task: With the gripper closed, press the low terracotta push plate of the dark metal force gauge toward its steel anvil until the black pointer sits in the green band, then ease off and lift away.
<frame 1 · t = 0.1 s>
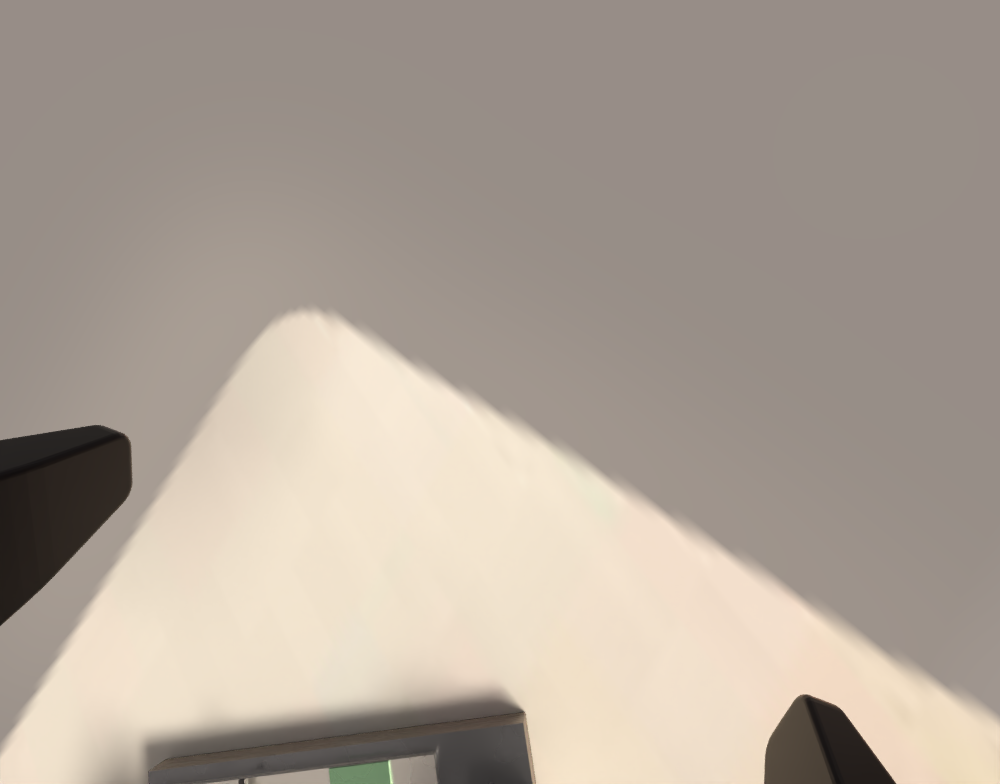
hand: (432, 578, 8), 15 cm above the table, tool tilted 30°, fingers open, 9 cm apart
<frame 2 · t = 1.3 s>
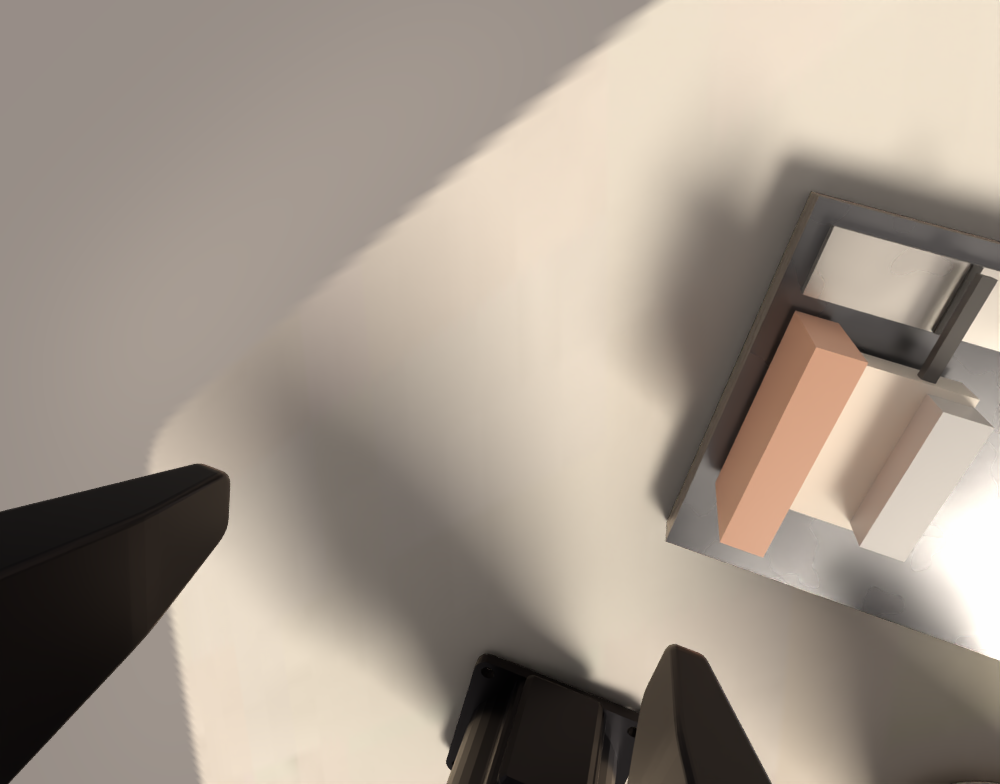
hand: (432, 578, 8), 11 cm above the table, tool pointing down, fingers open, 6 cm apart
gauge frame: (981, 457, 16), on the table
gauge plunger: (865, 418, 14), point 3 cm above the table, slide at 0.0 cm
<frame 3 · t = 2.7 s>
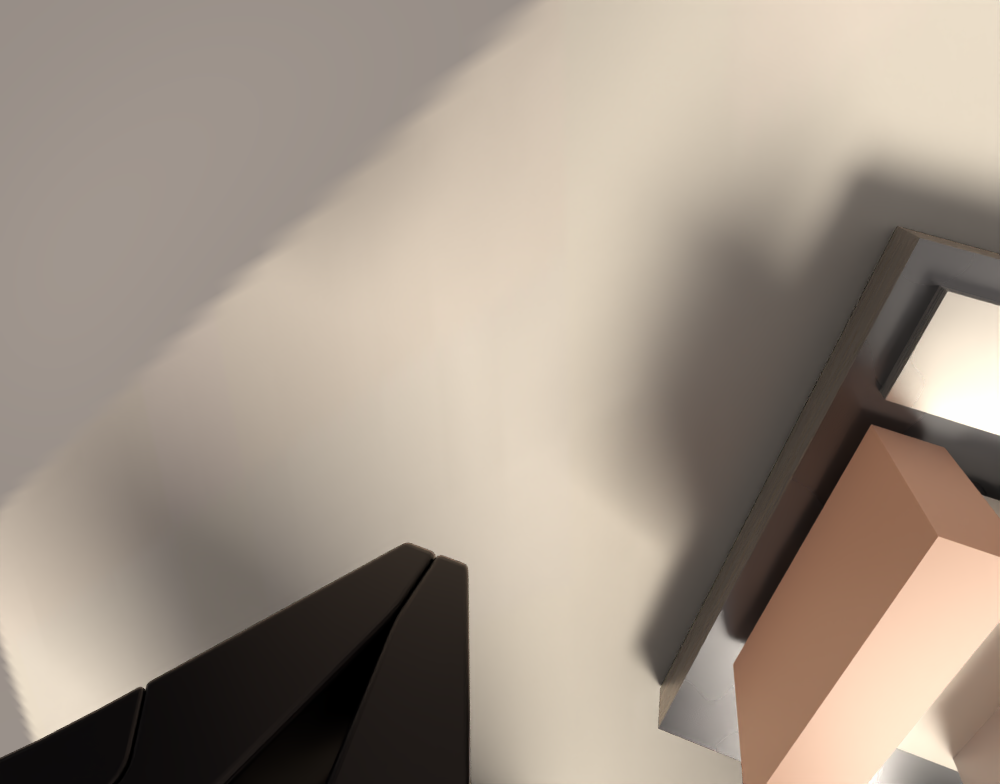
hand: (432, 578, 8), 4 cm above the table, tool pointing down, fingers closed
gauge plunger: (998, 621, 8), point 3 cm above the table, slide at 0.0 cm
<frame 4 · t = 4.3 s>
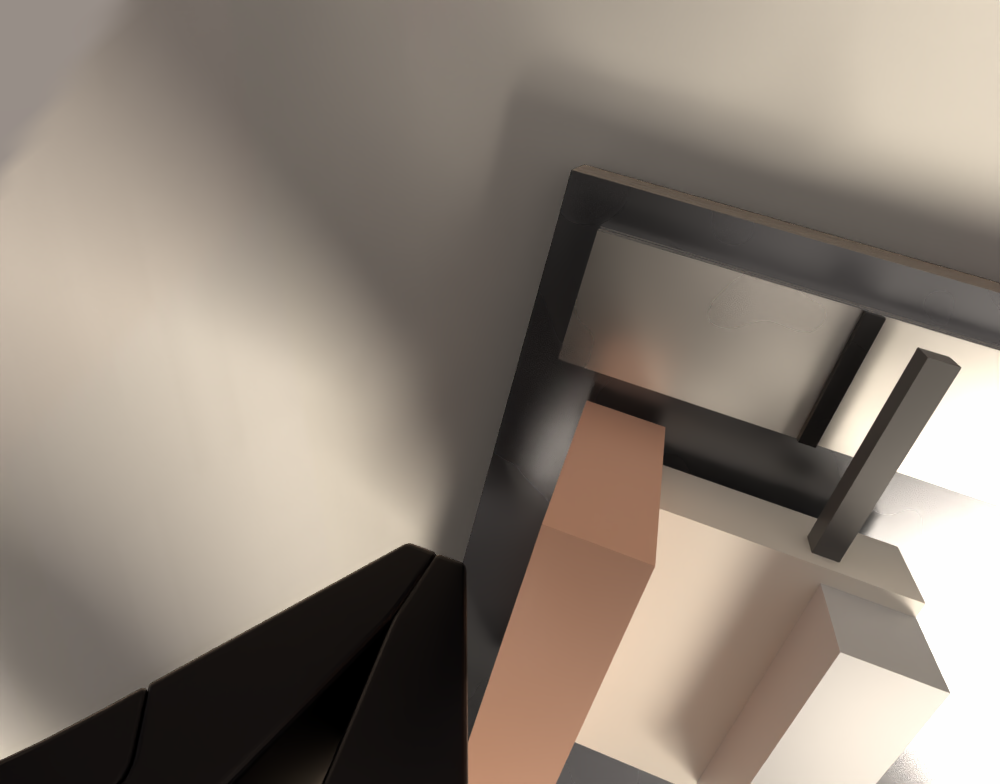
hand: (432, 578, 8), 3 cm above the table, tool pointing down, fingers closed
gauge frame: (907, 633, 9), on the table
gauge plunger: (700, 626, 7), point 3 cm above the table, slide at 0.5 cm, touching gripper
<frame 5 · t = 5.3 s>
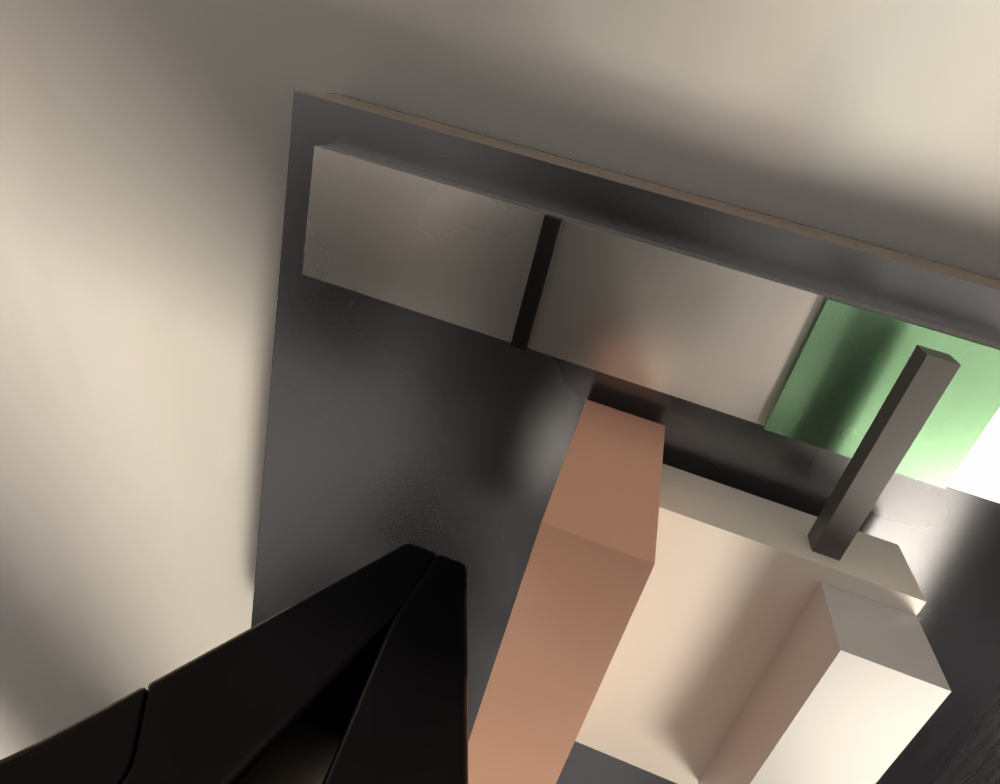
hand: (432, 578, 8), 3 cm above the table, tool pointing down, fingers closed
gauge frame: (676, 548, 10), on the table
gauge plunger: (700, 625, 7), point 3 cm above the table, slide at 4.0 cm, touching gripper
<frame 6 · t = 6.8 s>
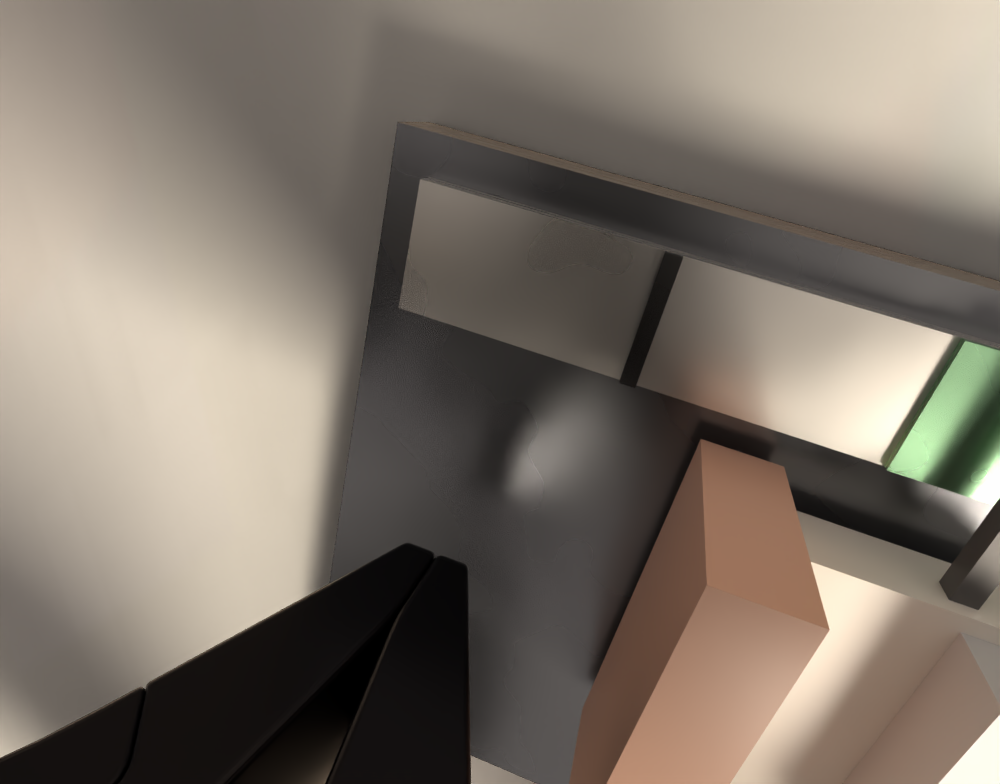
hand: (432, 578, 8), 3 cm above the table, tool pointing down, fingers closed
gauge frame: (765, 581, 10), on the table
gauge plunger: (832, 676, 7), point 3 cm above the table, slide at 4.0 cm
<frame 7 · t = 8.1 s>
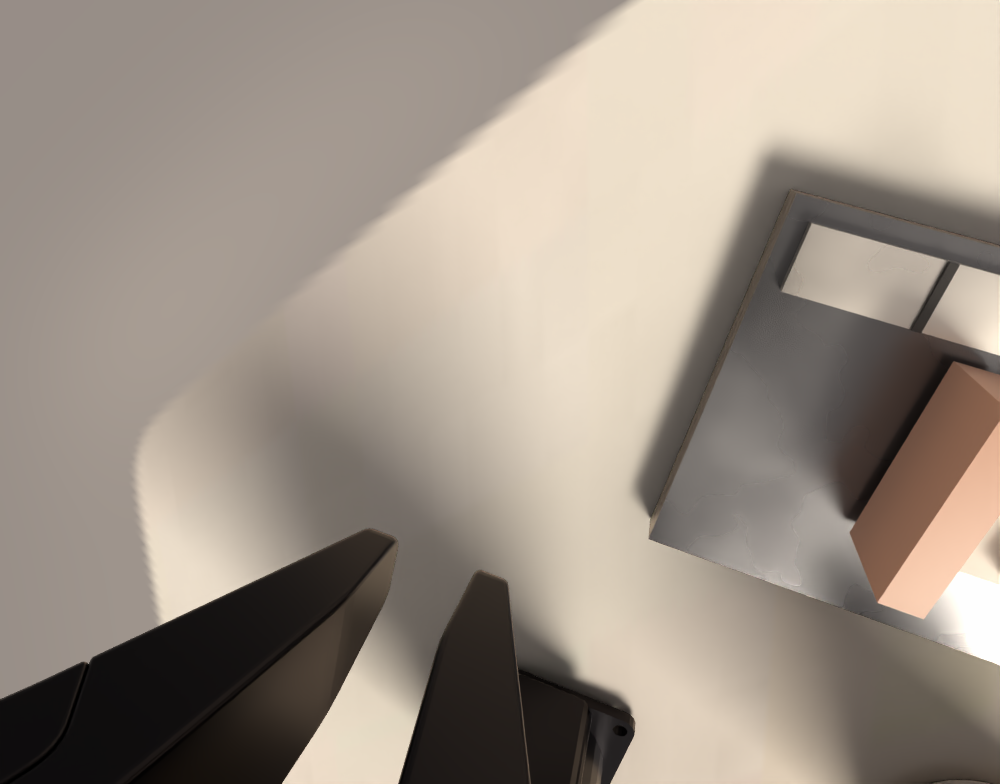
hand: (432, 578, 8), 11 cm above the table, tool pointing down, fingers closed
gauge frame: (961, 454, 16), on the table
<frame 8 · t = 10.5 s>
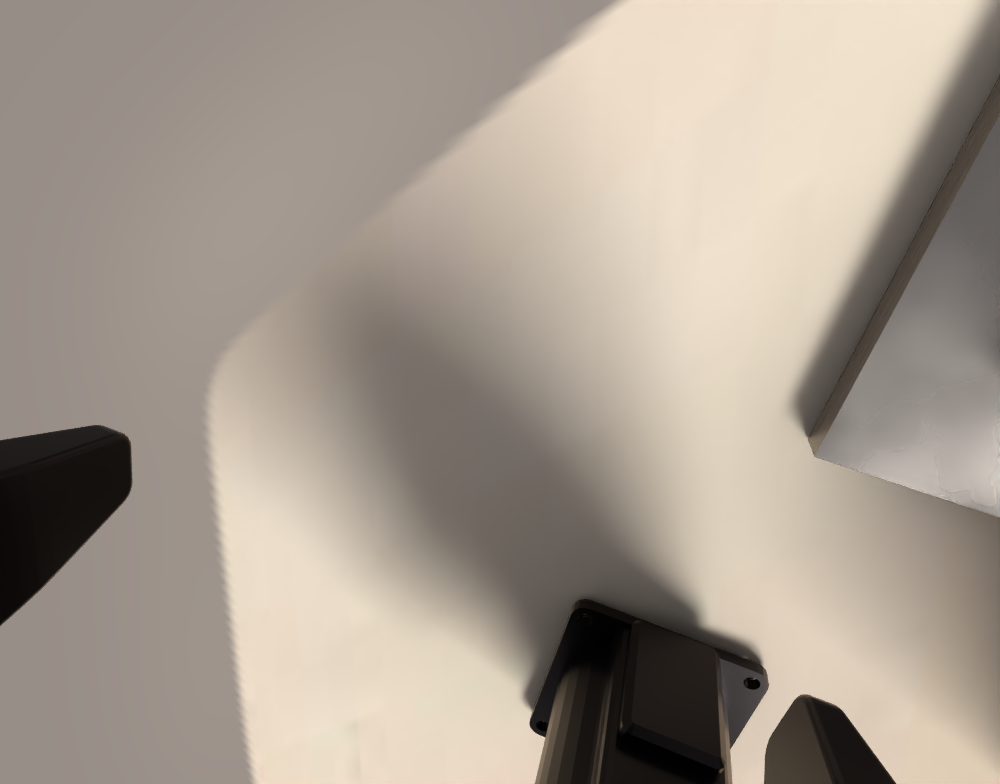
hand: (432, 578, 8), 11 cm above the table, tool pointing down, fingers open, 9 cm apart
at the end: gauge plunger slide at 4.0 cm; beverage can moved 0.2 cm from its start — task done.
